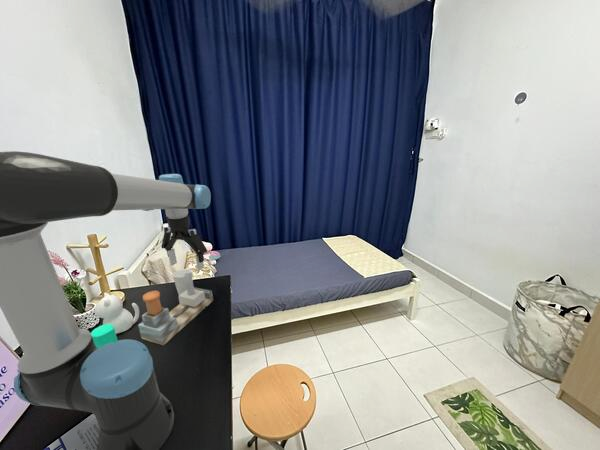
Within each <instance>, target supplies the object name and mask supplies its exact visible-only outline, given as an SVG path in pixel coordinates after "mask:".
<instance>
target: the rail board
mask: <svg viewBox="0 0 600 450" xmlns="http://www.w3.org/2000/svg"><path fill="white" fill-rule="evenodd" d="M194 289H195V290H200V291H204V294H205V299H204V300H203V301H202V302H201V303H200V304H198V305H197V306H196V307H193V306H189V305H185V304H180V303H179V304H177V306H175V307H174V308H172V309H171V310H170V309H169V308H168V307H163V306H161V308H162V311H161V312H160V313H158V314H157V315H156V316H153V315H149V314H148V311H146V312H144V313H143V314H142V315H141V317H142V318H141V319H142V321H141V322H140V323H138V325H137V326H138V330H139V334H140V337H141V339H142V340H145V341H148V342H151V343H155V344H157V345H161V346H165V345H166V344H167V343H168V342H169V341H170V340H171V339H172V338H174V337H175V335H177V334H178V333H179V332H180V331H181V330H182V329H183V328H184V327H186V326H187V325H188V324H189V323H190V322H191V321H192V320H194V319H195V318H196V317H197V316H198V315H199V314H200V313H201V312H202V311H203V310H204V309H206V308H207V307H208V306H210V304H211V303H213V302H214V296H213V290H210V289H205V288H201V287H200V288H199V287H196V286H194ZM206 306H207V307H206ZM205 307H206V308H205ZM169 310H170V311H169Z"/></svg>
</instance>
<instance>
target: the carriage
mask: <svg viewBox="0 0 600 450" xmlns="http://www.w3.org/2000/svg"><path fill="white" fill-rule="evenodd" d="M192 278H193V273H192V274H191V273H186V274H185V281H186V286H187V290H186V291H184V292H183V293H182V294H180V295H179V294H178V302H179V304H185V305H189V306H193V307H196V306H197V305H198V304H200V303H201V302H202V301H203V300H204V299H205V294H204V291H200V290H195V289H194V287H195V286H194V279H193V280H192Z"/></svg>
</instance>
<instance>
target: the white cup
mask: <svg viewBox="0 0 600 450" xmlns="http://www.w3.org/2000/svg"><path fill="white" fill-rule="evenodd" d="M186 273H191V274H192V275H193V270H192V269H190V268H182V269H178V270H176V271H174V272H173V274H172V277H173V280H174V285H175V288H176V292H177V294H178V296H179V295H180V294H182V293H183V292H184V291H186V290H187V286H186V281H185V274H186ZM192 280H193V281H194V279H193V277H192Z"/></svg>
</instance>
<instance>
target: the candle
mask: <svg viewBox="0 0 600 450" xmlns="http://www.w3.org/2000/svg"><path fill="white" fill-rule="evenodd" d="M90 333H91V336H92V338H93V341H94V343H95V345H96V347H98V348H100V347H102V346H104V345H106V344H108V343H111V342H112V343H116V342H117V341H118V340H119V339H118V337H117V334H116V333H115V329H114V326H113V325H111V324H104V325H103V324H102V325H101V324H100V325H99V326H98V327H95V328H94V329H93V330H92V331H91V332H90Z"/></svg>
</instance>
